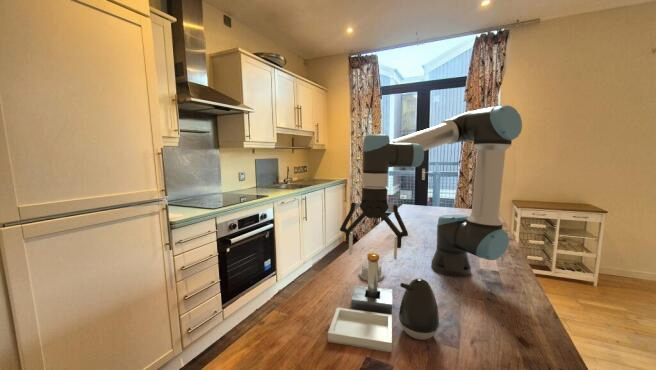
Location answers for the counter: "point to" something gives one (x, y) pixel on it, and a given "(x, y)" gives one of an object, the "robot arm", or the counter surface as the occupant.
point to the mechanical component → (364, 272)
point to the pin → (372, 275)
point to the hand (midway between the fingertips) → (372, 255)
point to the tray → (361, 329)
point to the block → (372, 300)
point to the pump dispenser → (419, 310)
